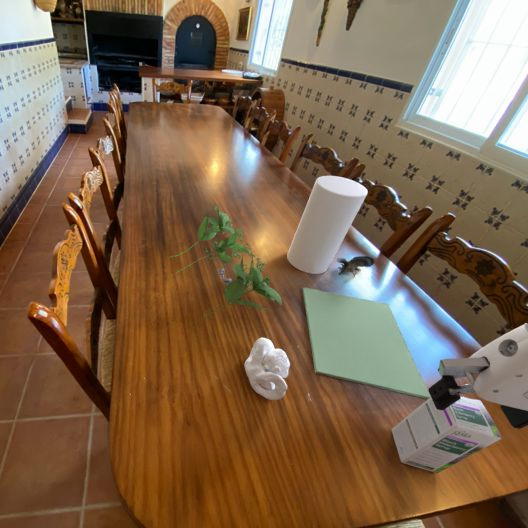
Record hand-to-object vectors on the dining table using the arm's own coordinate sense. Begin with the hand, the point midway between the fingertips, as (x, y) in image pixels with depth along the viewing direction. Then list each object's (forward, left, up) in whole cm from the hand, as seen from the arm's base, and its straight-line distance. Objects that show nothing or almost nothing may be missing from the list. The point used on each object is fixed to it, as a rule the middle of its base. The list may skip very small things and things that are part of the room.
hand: (470, 408), depth 42 cm
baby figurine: (+26, -8, -15) cm, 31 cm away
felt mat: (+4, -24, -15) cm, 28 cm away
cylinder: (+12, -51, -15) cm, 54 cm away
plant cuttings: (+39, -28, -15) cm, 50 cm away
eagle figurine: (0, -49, -15) cm, 51 cm away
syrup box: (0, 0, -15) cm, 15 cm away
